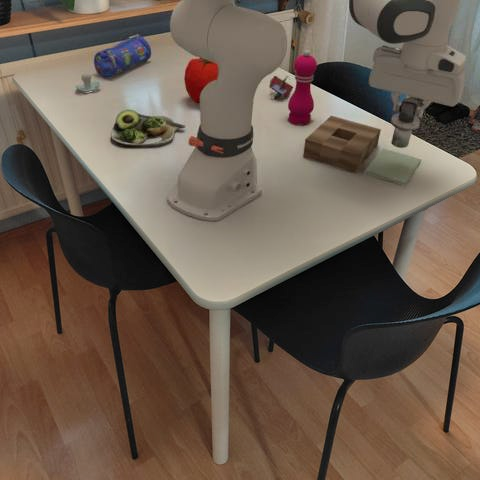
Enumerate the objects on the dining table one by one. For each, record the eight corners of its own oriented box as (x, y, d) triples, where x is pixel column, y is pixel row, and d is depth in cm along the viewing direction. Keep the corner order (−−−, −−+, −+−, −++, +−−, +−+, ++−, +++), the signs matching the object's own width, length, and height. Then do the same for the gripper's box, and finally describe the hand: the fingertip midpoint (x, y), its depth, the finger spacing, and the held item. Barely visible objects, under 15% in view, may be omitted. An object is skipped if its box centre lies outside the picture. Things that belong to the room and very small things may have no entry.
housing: (354, 173, 122) (358, 155, 119) (303, 156, 128) (305, 139, 125) (377, 146, 133) (381, 129, 130) (328, 132, 138) (331, 115, 135)
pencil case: (135, 57, 179) (132, 29, 173) (155, 61, 176) (152, 33, 170) (93, 77, 164) (89, 47, 158) (114, 82, 161) (110, 52, 155)
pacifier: (73, 90, 156) (79, 96, 152) (69, 70, 152) (75, 76, 148) (95, 85, 159) (102, 91, 155) (92, 65, 155) (99, 71, 152)
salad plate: (187, 118, 143) (186, 103, 140) (183, 150, 129) (182, 134, 126) (118, 118, 142) (116, 102, 139) (107, 149, 129) (105, 133, 126)
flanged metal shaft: (408, 153, 118) (420, 110, 111) (382, 145, 120) (392, 103, 113) (416, 141, 122) (428, 99, 115) (391, 134, 124) (401, 93, 117)
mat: (404, 185, 119) (405, 182, 118) (364, 173, 122) (365, 170, 122) (420, 162, 127) (421, 159, 127) (382, 150, 131) (383, 148, 131)
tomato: (195, 90, 158) (193, 47, 149) (232, 97, 155) (233, 53, 146) (178, 106, 148) (175, 61, 140) (217, 114, 145) (217, 68, 137)
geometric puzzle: (300, 89, 155) (287, 66, 152) (293, 97, 150) (280, 74, 148) (282, 99, 160) (269, 77, 157) (274, 107, 155) (261, 84, 152)
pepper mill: (310, 127, 140) (319, 55, 128) (285, 124, 141) (291, 53, 129) (313, 116, 146) (322, 46, 133) (288, 113, 147) (295, 43, 134)
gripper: (370, 47, 109) (359, 107, 118) (467, 68, 101) (448, 130, 110) (380, 39, 113) (369, 97, 122) (474, 58, 105) (455, 119, 114)
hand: (407, 113), depth 116 cm, fingers closed on flanged metal shaft, 4 cm apart
